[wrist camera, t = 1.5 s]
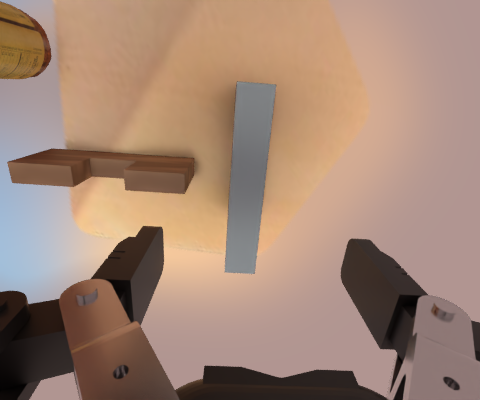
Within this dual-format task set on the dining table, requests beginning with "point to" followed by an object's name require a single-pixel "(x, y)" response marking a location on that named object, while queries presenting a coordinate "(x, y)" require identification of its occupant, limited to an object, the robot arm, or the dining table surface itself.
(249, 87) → the grey block
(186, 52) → the dining table surface
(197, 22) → the dining table surface
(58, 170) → the walnut board
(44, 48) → the sauce bottle
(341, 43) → the dining table surface
